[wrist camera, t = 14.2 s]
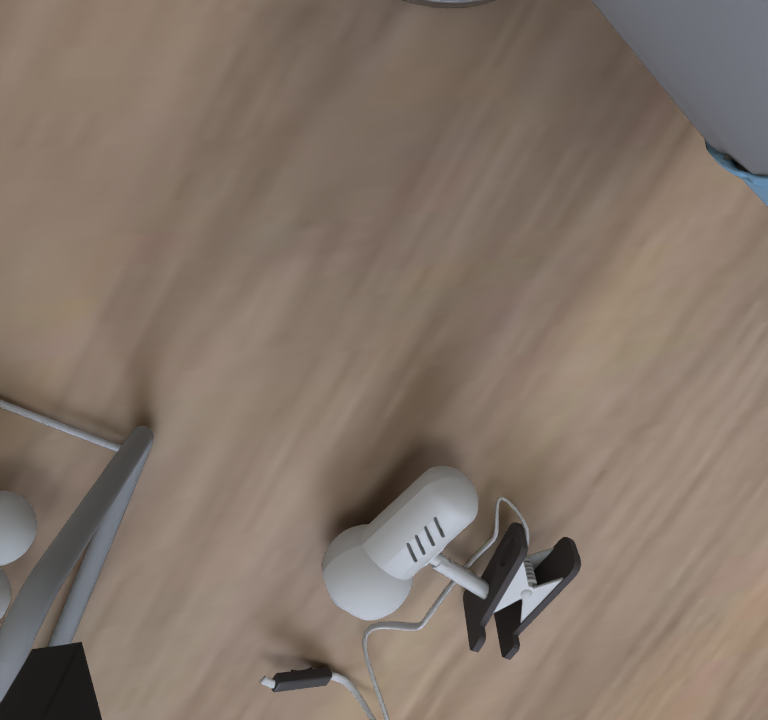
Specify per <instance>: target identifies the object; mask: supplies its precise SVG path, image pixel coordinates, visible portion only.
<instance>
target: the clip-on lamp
mask: <svg viewBox="0 0 768 720" xmlns="http://www.w3.org/2000/svg"><path fill="white" fill-rule="evenodd" d="M501 500H503V501H505V502H507V503H508V504H509V505H510V506H511V507H512V508H513V509H514V511H515V512H516V513H517V515H518V516H519V518H520V519H521V521H522V524H523V526H524V528H523V526H522V524H519V523H516V522H513V523H512V524H511V525H510V526H509V528H508V530H507V531H506V533H505V535H504V537H503V539H502V540H501V542H500V544H499V546H498V548H497V550H496V551H495V553H494V555H493V557H492V559H491V560H490V562H489V564H488V566H487V568H486V569H485V571H484V573H483V575H482V577H481V578H480V577H478V576H477V575H475V574H474V573H472V572H470V571H469V570H468V568H469V567H470V566H471V565H472V564H473V563H474V562H475V561H476V560H477V559H478V558H479V557H480V556H481V555H482V554H483V553H484V552H485V551H486V550H487V549H488V548H489V547H490V546H491V545H492V544H493V543H494V541H495V540H496V538H497V536H498V532H499V502H500V501H501ZM477 512H478V494H477V491H476V488H475V486H474V484H473V482H472V481H471V480H470V478H469V477H468V476H467V475H466V474H464V473H463V472H462V471H460V470H458V469H456V468H453V467H449V466H437V467H432V468H430V469H428V470H427V471H425V472H424V473H423V474H422V475H421V476H420V477H419V478H418V479H417V480H416V481H414V482H413V483H412V484H411V485H410V486H409V487H408V488H407V489H406V490H405V491H404V492H403V493H402V494H401V495H399V496H398V497H397V498H396V499H395V500H394V501H393V502H392V503H391V504H390V505H389V506H388V507H387V508H386V509H385V510H383V511H382V512H381V513H380V514H379V515H378V516H377V517H376V518H375V519H374V520H373V521H372V522H371V523H370V524H364V525H359V526H355V527H352V528H349V529H347V530H345V531H343V532H342V533H341V534H339V535H338V536H337V537H336V538H335V539H334V540H333V541H332V543H331V544H330V545H329V546H328V548H327V550H326V552H325V555H324V558H323V562H322V575H323V578H324V581H325V583H326V586H327V589H328V592H329V595H330V597H331V599H332V600H333V602H334V603H335V604H336V605H337V606H339V607H340V608H341V609H343V610H345V611H348V612H349V613H350V614H352V615H353V616H355V617H358V618H360V619H363V620H377V619H380V618H382V617H384V616H387V615H389V614H391V613H393V612H394V611H395V610H397V609H398V608H399V607H400V606H401V604H402V603H403V601H404V600H405V598H406V597H407V595H408V594H409V592H410V589H411V587H412V582H413V575H415V574H416V573H417V572H418V571H419V570H420V569H421V568H422V567H423V566H426V565H427V564H428V563H430V564H431V566H432V568H433V569H435V570H436V571H438V572H440V573H441V574H443V575H445V576H446V577H448V578H449V579H451V581H450V583H449V584H448V585H447V586H446V588H445V589H444V590H443V592H442V593H441V594H440V596H439V597H438V598H437V600H436V601H435V603H434V604H433V605H432V607H431V608H430V610H429V611H428V613H427V614H426V616H425V617H424V619H423V620H422V621H421V622H419V623H407V622H391V621H388V622H378V623H375V624H371V625H370V626H369V627H368V628H367V629H366V630H365V631H364V635H363V639H362V644H363V651H364V657H365V661H366V664H367V667H368V671H369V674H370V677H371V680H372V683H373V686H374V689H375V692H376V694H377V697H378V700H379V703H380V706H381V709H382V712H383V715H384V719H385V720H390V719H389V716H388V713H387V710H386V707H385V704H384V701H383V698H382V695H381V693H380V690H379V687H378V684H377V682H376V679H375V676H374V673H373V670H372V667H371V664H370V660H369V655H368V651H367V646H366V645H367V638H368V635H369V634H370V633H371V632H372V631H373V630H378V629H396V630H406V631H416V630H420V629H421V628H423V627H424V625H425V624H426V623H427V622H428V620H429V619H430V617H431V616H432V615H433V613H434V612H435V610H436V609H437V608H438V606H439V605H440V603H441V602H442V601H443V599H444V598H445V597H446V595H447V594H448V593H449V591H450V590H451V589H452V588H453V586H454V585H455V584H456V583H458V584H459V585H461V586H463V587H464V588H466V591H465V593H464V595H463V602H464V610H465V617H466V624H467V631H468V639H469V646H470V650H472V651H475V652H479V650H480V649H481V647H482V646H483V644H484V643H485V640H486V633H485V626H486V625H487V623H488V621H489V620H490V618H491V616H492V614H493V613H494V616H495V621H496V627H497V632H498V638H499V643H500V649H501V654H502V657H504V658H506V659H509V660H510V659H511V658H512V657H513V656H514V655H515V654H516V653H517V652H518V650H519V647H520V642H519V638H518V636H519V634H520V633H521V632H522V631H523V630H524V629H525V628H526V627H527V626H528V625H529V624H530V623H531V622H532V621H533V620H534V619H535V618H536V617H537V616H538V615H539V614H540V613H541V612H542V611H543V610H544V609H545V608H546V606H547V605H548V604H549V603H550V602H551V601H552V600H553V599H554V598H555V597H556V596H557V595H558V594H559V593H560V592H561V591H562V590H563V589H564V588H565V587H566V586H567V585H568V584H569V583H570V582H571V581H572V580H573V578H574V577H575V576H576V575H577V574H578V572H579V570H580V566H581V560H580V556H579V554H578V551H577V548H576V545H575V542H574V541H573V540H572V539H570V538H568V537H563V538H562V539H560V540H559V541H558V543H557V544H556V545H555V546H554V547H552V548H549V549H546V550H543V551H540V552H537V553H534V554H531V555H528V556H526V555H527V550H528V544H529V535H530V534H529V529H528V526H527V523H526V521H525V519H524V517H523V516H522V514H521V513H520V511H519V510H518V509H517V508H516V507H515V505H514V504H512V503H511V502H510V501H509V500H508V499H506V498H505V497H499V498H498V499H497V501H496V506H495V530H494V534H493V536H492V537H491V538H490V539H489V540H488V541H487V542H486V543H485V544H484V545H483V546H482V547H481V548H480V549H479V550H478V551H477V552H476V553H475V554H474V555H473V556H472V557H471V558H470V559H469V560H468V562H467V563H466V564H465V565H464V566H463V567H462V566H461V565H459V564H458V563H456V562H454V561H453V560H451V559H450V558H448V557H446V556H445V555H443V554H442V553H440V552H441V551H442V550H443V549H444V548H445V546H446V545H447V544H448V543H449V542H450V541H452V540H453V539H454V538H455V537H456V536H457V535H458V534H459V533H460V532H461V531H462V530H464V529H465V528H466V527H467V526H468V525H469V524H470V523H471V522H472V521H473V520H474V519H475V517H476V515H477ZM524 530H525V532H524ZM330 680H335V681H337V682H339V683H341V684H343V685H345V686H346V687H347V688H348V689H349V691H350V692H351V693H352V694H353V695H354V696H355V697H356V699H357V700H358V702H359V703H360V705H361V706H362V708H363V709H364V711H365V713H366V714H367V716H368V718H369V720H376V719H375V717H374V715H373V714H372V712H371V710H370V708H369V707H368V705H367V703H366V701H365V700H364V698H363V697H362V695H361V694H360V692H359V691H358V689H357V688H356V687H355V686H354V684H353V683H352V682H351V681H350V680H349V679H348V678H347V677H345V676H343V675H341V674H339V673H332V672H331V670H330V668H328V667H326V668H318V669H312V667H311V668H309V669H306V670H300V671H296V670H291V672H283V673H277V674H276V675H275V676H274V677H273V679H271V678H269V677H267V676H264V677H263V678H262V679H261V680H260V683H261V684H263V685H265V686H268V687H270V688H272V691H273V692H280V691H288V690H295V689H303V688H310V687H318V686H326V685H327V683H328V682H329V681H330Z"/></svg>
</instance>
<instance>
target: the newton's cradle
mask: <svg viewBox="0 0 768 720" xmlns="http://www.w3.org/2000/svg"><path fill="white" fill-rule="evenodd" d="M0 408H3V409H5V410H8V411H10V412H13V413H16V414H18V415H21V416H24V417H26V418H29V419H32V420H34V421H37V422H40V423H42V424H45V425H48V426H50V427H53V428H55V429H58V430H61V431H63V432H66V433H69V434H71V435H74V436H77V437H79V438H82V439H85V440H87V441H90V442H93V443H95V444H98V445H100V446H103V447H106V448H108V449H111V450H114V451H116V452H117V453H116V454H115V456H114V457H113V458H112V460H111V461H110V463H109V464H108V465H107V467H106V468H105V469H104V471H103V472H102V474H101V475H100V476H99V478H98V479H97V481H96V482H95V483H94V485H93V486H92V488H91V489H90V490H89V492H88V493H87V495H86V496H85V497H84V499H83V500H82V502H81V503H80V504H79V506H78V507H77V508H76V510H75V511H74V513H73V514H72V515H71V517H70V518H69V520H68V521H67V522H66V524H65V525H64V527H63V528H62V529H61V531H60V532H59V534H58V535H57V536H56V538H55V539H54V541H53V542H52V543H51V545H50V546H49V547H48V549H47V550H46V552H45V553H44V554H43V556H42V557H41V559H40V560H39V561H38V563H37V564H36V566H35V567H34V568H33V570H32V571H31V573H30V574H29V576H28V578H27V579H26V581H25V582H24V584H23V586H22V588H21V589H20V591H19V593H18V595H17V596H16V598H15V600H14V602H13V604H12V606H11V608H10V610H9V612H8V614H7V616H6V618H5V620H4V622H3V624H2V627H1V629H0V703H1V701H2V699H3V698H4V696H5V694H6V693H7V691H8V689H9V688H10V686H11V684H12V683H13V681H14V679H15V678H16V676H17V674H18V673H19V671H20V669H21V668H22V666H23V664H24V663H25V661H26V659H27V656H28V654H29V652H30V649H31V647H32V644H33V642H34V640H35V638H36V635H37V633H38V631H39V629H40V627H41V624H42V622H43V620H44V618H45V616H46V614H47V612H48V610H49V608H50V606H51V604H52V602H53V601H54V599H55V597H56V595H57V593H58V591H59V590H60V588H61V586H62V584H63V583H64V581H65V580H66V578H67V576H68V575H69V573H70V572H71V570H72V568H73V567H74V565H75V564H76V562H77V560H78V559H79V557H80V556H81V554H82V552H83V551H84V549H85V548H86V546H87V544H88V543H89V541H90V540H91V541H90V543H89V546H88V548H87V551H86V553H85V556H84V558H83V561H82V563H81V566H80V568H79V571H78V573H77V576H76V578H75V581H74V583H73V586H72V588H71V591H70V593H69V595H68V598H67V600H66V603H65V605H64V608H63V610H62V613H61V615H60V618H59V620H58V623H57V625H56V628H55V630H54V633H53V635H52V638H51V640H50V643H49V645H48V647H51V646H58V645H65V644H71V641H72V639H73V636H74V634H75V631H76V629H77V627H78V624H79V622H80V619H81V617H82V614H83V612H84V610H85V607H86V605H87V602H88V600H89V597H90V595H91V593H92V590H93V588H94V585H95V583H96V580H97V578H98V576H99V573H100V571H101V568H102V566H103V563H104V561H105V559H106V556H107V554H108V551H109V549H110V546H111V544H112V541H113V539H114V537H115V534H116V532H117V529H118V527H119V524H120V522H121V520H122V517H123V515H124V512H125V510H126V507H127V505H128V503H129V500H130V498H131V495H132V493H133V490H134V488H135V486H136V483H137V481H138V478H139V476H140V473H141V471H142V469H143V466H144V464H145V461H146V459H147V456H148V454H149V451H150V449H151V446H152V443H153V439H154V435H153V433H152V431H151V430H150V429H149V428H148V427H146V426H139V427H136V428H135V429H134V430H133V431H132V432H131V433H130V435H129V436H128V437H127V439H126V440H125V442H124V443H123V444H122V446H121V445H119V444H116V443H114V442H111V441H108V440H106V439H103V438H100V437H98V436H95V435H92V434H90V433H87V432H85V431H82V430H79V429H77V428H74V427H71V426H69V425H66V424H63V423H61V422H58V421H56V420H53V419H50V418H48V417H45V416H42V415H40V414H37V413H35V412H32V411H29V410H27V409H24V408H21V407H19V406H16V405H13V404H11V403H8V402H6V401H3V400H0ZM36 532H37V517H36V514H35V511H34V509H33V507H32V506H31V504H30V503H29V502H28V501H27V500H26V499H25V498H23V497H22V496H20V495H18V494H16V493H14V492H10V491H2V490H0V566H2V565H6V564H8V563H10V562H13V561H14V560H16V559H18V558H19V557H21V556H22V555H23V554H24V553H25V552H26V551H27V550H28V549H29V548H30V546H31V544H32V542H33V541H34V539H35V536H36ZM91 538H92V539H91ZM11 591H12V589H11V584H10V580H9V578H8V576H7V575H6V573H5V572H4V571H3V570H2V569H1V568H0V619H1V618H2V616H3V615H4V614H5V612H6V610H7V608H8V606H9V604H10V600H11Z"/></svg>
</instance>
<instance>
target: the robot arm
mask: <svg viewBox="0 0 768 720" xmlns="http://www.w3.org/2000/svg"><path fill="white" fill-rule="evenodd" d="M403 1H407V2H410V3H414V4H417V5H423V6H429V7H437V8H463V7H470V6H476V5H481V4H485V3H488V2H492V1H495V0H403ZM592 2H593V3H594V4H595V5H596V7H597V8H598V9H599V10H600V11H601V13H602V14H603V15H604V16H605V18H606V19H607V20H608V21H609V22H610V24H611V25H612V26H613V27H614V29H615V30H616V31H617V32H618V33H619V35H620V36H621V37H622V38H623V40H624V41H625V42H626V43H627V44H628V46H629V47H630V48H631V49H632V51H633V52H634V53H635V54H636V55H637V57H638V58H639V59H640V60H641V62H642V63H643V64H644V65H645V66H646V68H647V69H648V70H649V71H650V73H651V74H652V75H653V76H654V77H655V79H656V80H657V81H658V82H659V84H660V85H661V86H662V87H663V88H664V90H665V91H666V92H667V93H668V95H669V96H670V97H671V98H672V99H673V101H674V102H675V103H676V104H677V106H678V107H679V108H680V109H681V110H682V112H683V113H684V114H685V115H686V117H687V118H688V119H689V120H690V121H691V123H692V124H693V125H694V126H695V128H696V129H697V130H698V131H699V133H700V134H701V135H702V136H703V137H704V139H705V143H706V148H707V150H708V152H709V153H710V154H711V156H712V157H713V158H714V159H715V160H716V162H717V163H718V164H719V165H721V166H722V167H723V168H724V169H726V170H727V171H728V172H730V173H732V174H734V175H736V176H738V177H740V178H742V180H743V181H744V182H745V183H746V184H747V185H748V186H749V187H750V188H751V189H752V190H753V191H754V192H755V193H756V195H757V196H758V197H759V198H760V199H761V200H762V201H763V202H764V203H765V204H766V205H767V206H768V0H592ZM0 720H102V718H101V714H100V710H99V706H98V702H97V699H96V695H95V691H94V687H93V683H92V680H91V676H90V672H89V668H88V664H87V661H86V657H85V653H84V649H83V645H82V642H79V643H72V644H65V645H58V646H51V647H45V648H38V649H32V651H31V652H30V654H29V656H28V657H27V659H26V661H25V663H24V664H23V666H22V668H21V669H20V671H19V673H18V674H17V676H16V678H15V679H14V681H13V683H12V684H11V686H10V688H9V689H8V691H7V693H6V694H5V696H4V698H3V699H2V701H1V703H0Z"/></svg>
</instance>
